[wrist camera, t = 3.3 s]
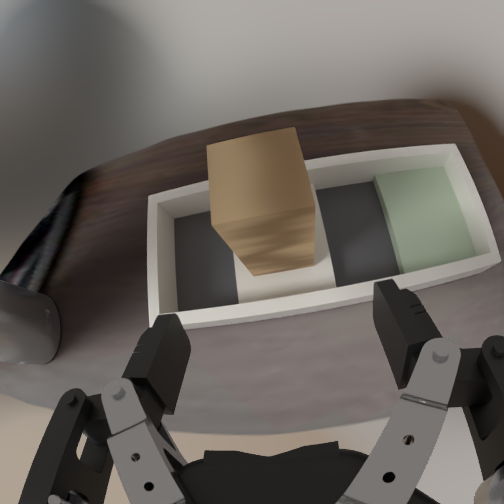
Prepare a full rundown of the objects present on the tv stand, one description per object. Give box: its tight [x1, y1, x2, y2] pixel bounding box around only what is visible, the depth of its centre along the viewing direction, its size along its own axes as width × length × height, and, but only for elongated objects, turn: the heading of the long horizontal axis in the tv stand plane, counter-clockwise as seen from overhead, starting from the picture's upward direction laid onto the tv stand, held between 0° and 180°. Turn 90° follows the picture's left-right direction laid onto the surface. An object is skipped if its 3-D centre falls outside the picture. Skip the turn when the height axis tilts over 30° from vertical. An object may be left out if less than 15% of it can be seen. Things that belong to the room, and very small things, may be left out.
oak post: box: [207, 127, 315, 276], centre depth 20 cm, size 5×5×11 cm
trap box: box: [147, 144, 501, 329], centre depth 24 cm, size 30×12×4 cm, turn 98°
